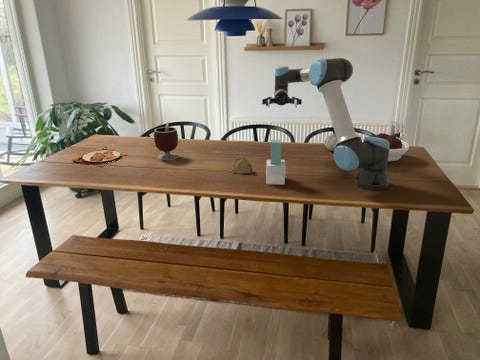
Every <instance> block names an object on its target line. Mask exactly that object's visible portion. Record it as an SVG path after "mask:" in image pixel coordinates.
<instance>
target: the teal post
mask: <svg viewBox="0 0 480 360" xmlns="http://www.w3.org/2000/svg"><path fill="white" fill-rule="evenodd" d="M270 160H271V163H270V164H281V160H282V139H270Z"/></svg>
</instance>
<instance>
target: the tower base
mask: <svg viewBox="0 0 480 360" xmlns="http://www.w3.org/2000/svg"><path fill="white" fill-rule="evenodd" d="M265 171H266V173H265V174H266V177H265V183H266V185H285V183H286V182H285V181H286V180H285V178H286V175H267V170H265Z"/></svg>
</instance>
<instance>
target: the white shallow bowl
mask: <svg viewBox="0 0 480 360" xmlns="http://www.w3.org/2000/svg"><path fill="white" fill-rule="evenodd" d="M371 137H377V138H382V139H385V140H387V141H389V143H390V145H389V149H390V150H389V155H388V162H396V161H399V160H400V159H401V158H402V156H403V155H404V154H406V152H408V150H409V149H410V145H409V143H408V142H406V141H404V140H401V139H400V138H399V139H398V138H397V137H396V135H390V134H388V133H383V132H381V133H378V134H376V135H372V136H371ZM362 142H364V141H363V140H362Z"/></svg>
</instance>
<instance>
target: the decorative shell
mask: <svg viewBox="0 0 480 360" xmlns="http://www.w3.org/2000/svg"><path fill="white" fill-rule="evenodd" d="M336 143H337V137H336V134H335V133H333V134H330V135H328V136H327V137H326V138H325V140H324V142H323V144H324V146H325V148H326V149H327V150H329V151H331V152H332V151H333V152H334V150H335V149H336Z"/></svg>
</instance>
